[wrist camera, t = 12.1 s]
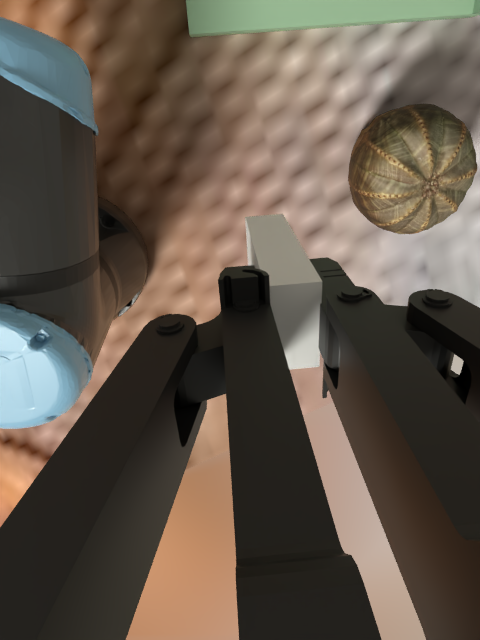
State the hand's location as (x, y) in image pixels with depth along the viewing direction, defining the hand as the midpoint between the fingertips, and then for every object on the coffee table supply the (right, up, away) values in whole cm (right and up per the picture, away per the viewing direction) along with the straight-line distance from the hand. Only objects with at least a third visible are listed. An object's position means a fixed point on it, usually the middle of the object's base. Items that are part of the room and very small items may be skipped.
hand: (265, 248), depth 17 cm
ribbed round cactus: (+14, +14, +27) cm, 34 cm away
